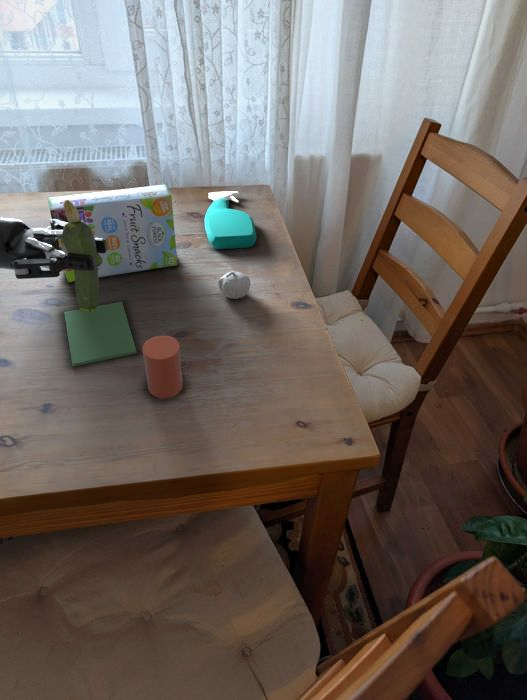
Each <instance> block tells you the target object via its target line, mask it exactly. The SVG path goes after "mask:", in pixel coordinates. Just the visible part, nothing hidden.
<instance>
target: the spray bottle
mask: <svg viewBox="0 0 527 700" xmlns="http://www.w3.org/2000/svg"><path fill="white" fill-rule="evenodd" d="M239 195H240V193H239V191H234V190H233V191H232V190H231V191H230V190H229V191H213V192H208V199H209V200H212V203H211V204H210V205H209V207H208V209H207V211H206V214H205V215H204V229H205V233H206V236H207V239H208V241H209V243H210V246H211V247H213V248H214V249H215V250H227V249H228V250H229V249H230V250H231V249H248V248H251V247H253V246H254V245H255V244H256V241H257V230H256V226H255V222H254V220H253V217H252V216H251V215H250V214H248V213H247V212H245V211H242V210H239V209H234V208H230V206H229V205H230V201H233V202H235V203H238V204H239V202H240V201H239V200H238V199H237V198H236V197H239Z"/></svg>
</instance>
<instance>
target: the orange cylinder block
mask: <svg viewBox="0 0 527 700" xmlns="http://www.w3.org/2000/svg"><path fill="white" fill-rule="evenodd" d="M141 348H142V355H143V356H142V357H143V362H144V369H145V376H146V384H147V389H148V390H147V391H148V392H149V394H150V395H152V396H153V397H155V398H158V399H170V398H173V397H175V396H177V395H179V393H180V392H181V391H182V390H183V388H184V387H183V384H184V383H183V370H182V360H181V350H180V343H179V341H178V340H177V339H176V338H175V337H172V336H170V335H163V334H162V335H155V336H153V337H150V338H148V339H147V340H146V341H145V342H144V343H143V345H142V347H141Z"/></svg>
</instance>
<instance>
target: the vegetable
mask: <svg viewBox="0 0 527 700" xmlns="http://www.w3.org/2000/svg"><path fill="white" fill-rule="evenodd" d="M64 209H65V213H66V217H67V219H68V221H69V222H68V223H67V224H66V225H65V226H64V228H63V234H62V237H63V242H64V245H65V248H66V250H67V252H68V253H74V254H82V255H91V256H93V257H94V261H95V266H96V267H95V269H94V270H93V271H88V270H87V271H83V270H75V269H74V274H75V281H74V286H75V295H76V302H77V305H78V309H80V312H83V313H85V312H90V313H93V312H94V310H95V308H96V306H98V304H99V296H100V279H99V277H98V268H97V250H96V243H95V238H94V234H93V232H92V230H91V228H90V227H89V225H88V224H87V223H85V222H84V221H82V220H80V214H79V212H78V211H77V209H76V207H75V206H74V205H73V204H72V203H71V202H70V201H69V200H65V201H64Z"/></svg>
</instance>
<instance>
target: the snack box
mask: <svg viewBox="0 0 527 700" xmlns="http://www.w3.org/2000/svg"><path fill="white" fill-rule="evenodd" d="M65 200H69V201H70V202H71V203H72V204H73V205H74V206H75V207H76V209H77V211H78V212H79V214H80V220H82V221H84V222H85V223H87V224H88V225H89V227H90V228H91V230H92V232H93V234H94V238H102V239H105V240H106V244H107V251H106V253H104V254H103V253H97V268H98V278H103V277H109V276H116V275H123V274H129V273H137V272H143V271H148V270H155V269H161V268H169V267H174V266H175V267H176V266H178V256H177V244H176V243H177V242H176V231H175V220H174V219H175V218H174V208H173V196H172V194H171V192H170V190H169V189H168V187H167V185H166V184H158V185H150V186H140V187H133V188H123V189H114V190H107V191H106V190H105V191H96V192H89V193H79V194H71V195H63V196H52V197H47V203H48V207H49V214H50V218H51V220H52V219H57V220H60V221H63V222H67V223H68V222H69V221H68V219H67V217H66V213H65V209H64V201H65ZM58 241H59V246H60V247H62V244H61V240H60V239H58ZM67 255H68V253H67V254H66V256H67ZM64 274H65V277H66V280H67V282H68V283H73V282H75V274H74V269H69V270H67V271H64Z"/></svg>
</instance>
